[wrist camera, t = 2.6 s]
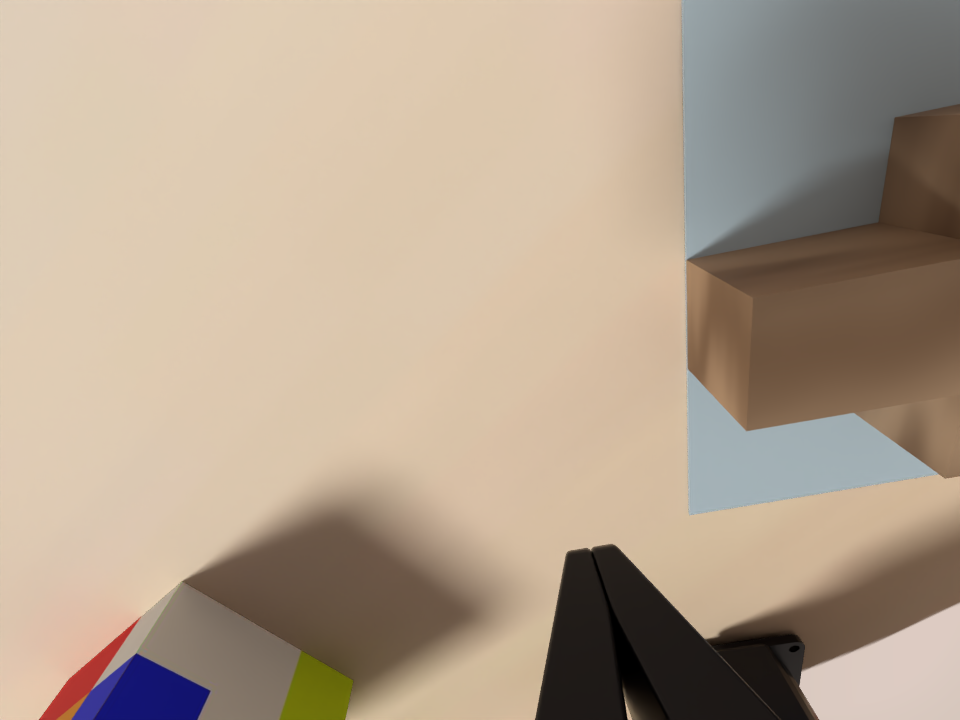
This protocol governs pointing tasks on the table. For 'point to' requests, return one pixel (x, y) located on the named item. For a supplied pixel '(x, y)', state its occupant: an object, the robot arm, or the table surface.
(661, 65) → the table surface
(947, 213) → the tee
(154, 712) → the puzzle toy
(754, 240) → the mat
